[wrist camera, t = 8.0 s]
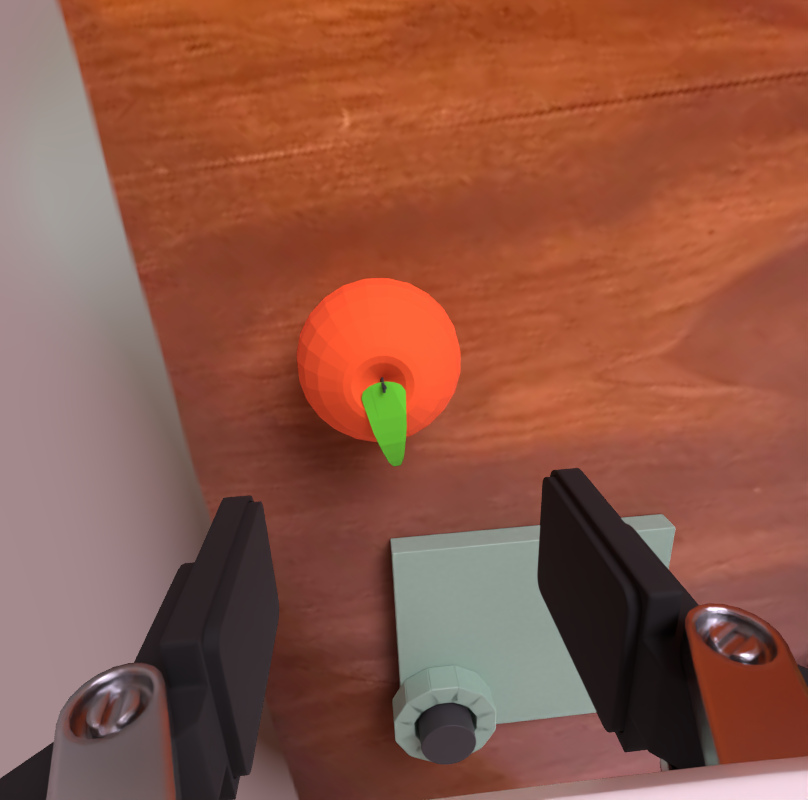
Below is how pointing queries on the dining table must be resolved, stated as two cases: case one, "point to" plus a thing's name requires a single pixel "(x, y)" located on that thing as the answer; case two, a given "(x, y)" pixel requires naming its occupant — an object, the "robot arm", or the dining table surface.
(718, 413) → the dining table surface
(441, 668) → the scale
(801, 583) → the dining table surface
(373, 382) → the clementine
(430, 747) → the tare button
